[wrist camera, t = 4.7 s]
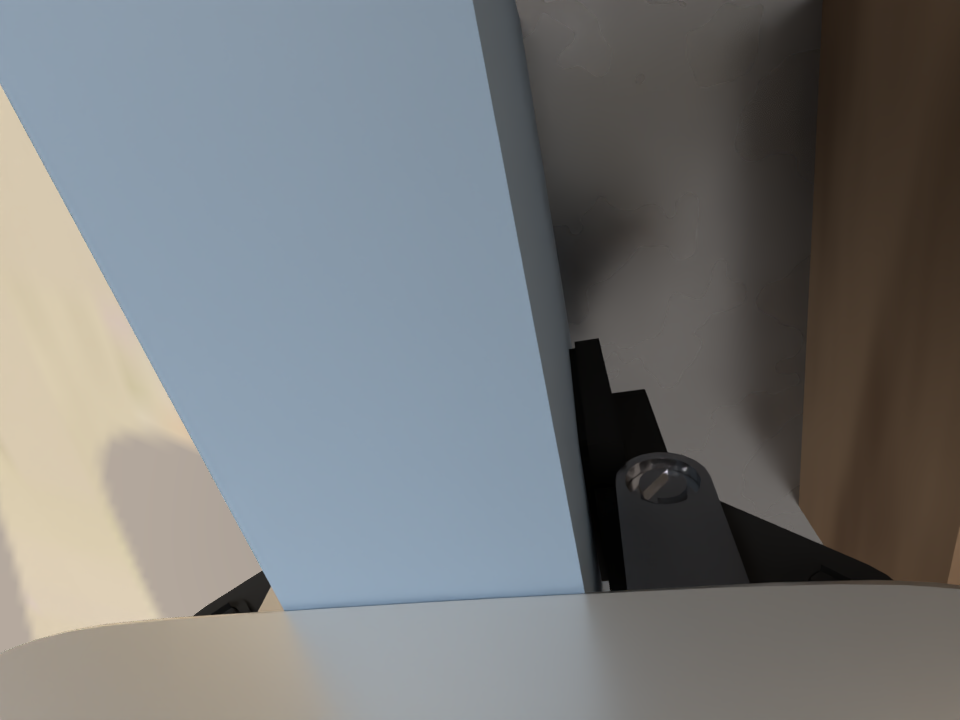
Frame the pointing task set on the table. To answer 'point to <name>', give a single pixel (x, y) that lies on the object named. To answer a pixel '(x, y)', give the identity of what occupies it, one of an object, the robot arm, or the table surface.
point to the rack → (689, 217)
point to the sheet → (332, 275)
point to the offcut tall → (886, 290)
